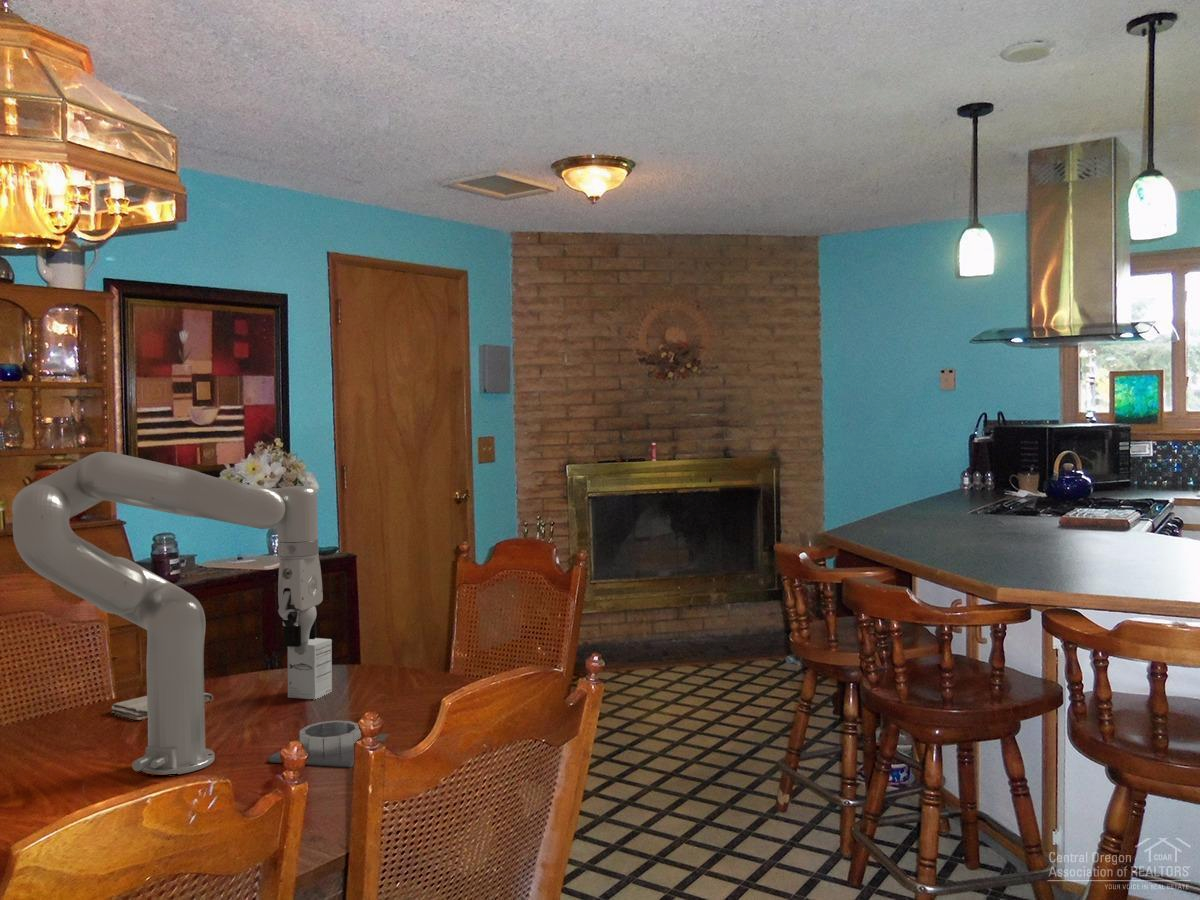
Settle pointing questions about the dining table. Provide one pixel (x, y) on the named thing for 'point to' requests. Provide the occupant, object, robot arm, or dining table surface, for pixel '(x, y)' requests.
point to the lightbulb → (305, 627)
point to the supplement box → (310, 670)
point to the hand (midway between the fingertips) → (300, 641)
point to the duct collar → (329, 743)
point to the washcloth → (139, 707)
